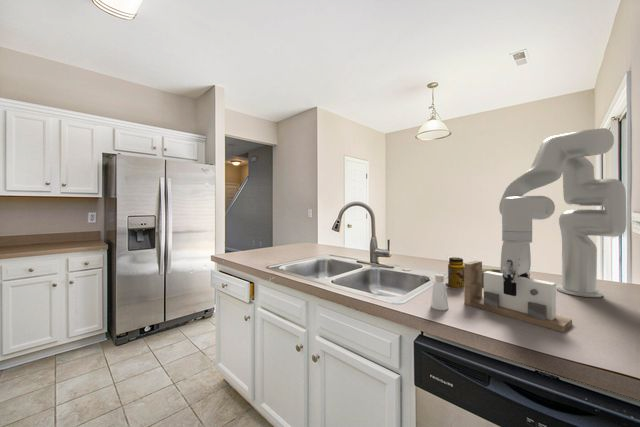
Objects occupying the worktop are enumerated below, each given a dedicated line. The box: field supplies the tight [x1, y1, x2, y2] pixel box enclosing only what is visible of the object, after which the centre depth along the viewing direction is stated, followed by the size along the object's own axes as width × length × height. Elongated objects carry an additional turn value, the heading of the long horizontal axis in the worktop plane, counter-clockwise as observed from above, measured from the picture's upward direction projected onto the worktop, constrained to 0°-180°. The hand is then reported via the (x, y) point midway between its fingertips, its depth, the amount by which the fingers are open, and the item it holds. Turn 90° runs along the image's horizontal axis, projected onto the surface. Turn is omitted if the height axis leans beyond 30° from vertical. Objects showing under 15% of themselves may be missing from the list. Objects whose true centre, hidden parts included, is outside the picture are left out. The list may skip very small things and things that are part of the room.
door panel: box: [483, 271, 557, 320], centre depth 83 cm, size 4×18×10 cm, turn 34°
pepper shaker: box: [430, 273, 449, 311], centre depth 90 cm, size 5×5×11 cm
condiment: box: [445, 256, 464, 290], centre depth 112 cm, size 7×8×12 cm
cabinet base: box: [463, 260, 573, 333], centre depth 84 cm, size 8×26×14 cm, turn 34°
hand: (516, 291), depth 83 cm, fingers open, 9 cm apart
